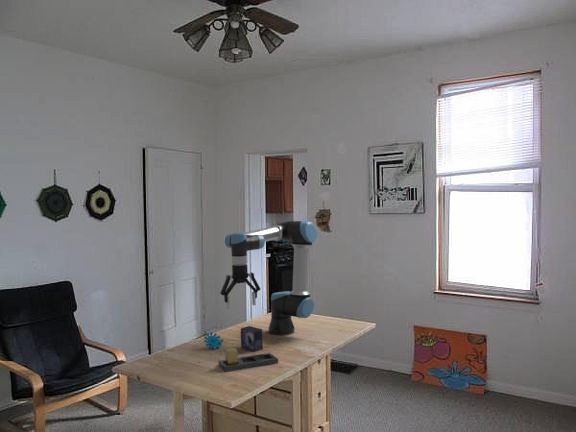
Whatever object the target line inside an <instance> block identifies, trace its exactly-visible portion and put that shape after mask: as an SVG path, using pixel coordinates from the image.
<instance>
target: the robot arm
mask: <svg viewBox="0 0 576 432" xmlns="http://www.w3.org/2000/svg"><path fill="white" fill-rule="evenodd" d="M317 236H318V231H317V228H316V226H315V224H314V223H312V222H311V221H308V220H307V221H306V220H302V221H301V220H288V221H283V222H279V223H275V224H272V225H271V226H270V227H269V226H268V227H265V228H264V227H263V228H260V229H255V230H249V231H244V232H234V233H229V234H227V235H226V236H225V238H224V243H225V246H226V248H229V249H230V250H231V270H232V271H231V272H232V273H231V274H232V275H229V274H226V276H225V281H224V283H223V285H222V288H221V290H220V291H219V295H221V296H224V300H223V301H224V303H226V305H225V306H226V309H227V310H230V309H231V305H230V302H231V301H230V295H229V294H230V293H231V292H232V290H233V289H234V287H235V286H236V285H237V284H243V283H245V284H246V285H247V286H248V287H249V288H250V289H251V290H252V291H251V301H252V302H251V304H252V306H256V305H257V304H256V303H257V302H256V299H258V291H261V287H260V285H259V283H258V281H257V280H256V278H255V273H254V272H252V271H251V272H248V270H249V269H248V252H249V251H255V250H257V251H258V250H261V249H262V248H263V247H264V246H265V244H266V242H270V241H275V242H279V241H286V242H287V241H288V242H291V246H292V247H293V266H292V267H293V270H292V272H293V273H292V290H291V291H289V290H288V291H278V292H273V293H272V294H271V297H270V311H271V313H270V314H271V319H270V322H269V326H268V333H269V334H270V335H276V336H284V335H285V336H287V335H291V334H293V333H295V325H294V322H293V320H292V317H293V318H294V317H296V318H298V319H308V318H309V317H310V316H311V315H312V313H313V312H314V309H315V302H314V298H311V293H310V292H309V290H308V289H309V265H310V264H309V263H310V248H311V247H312V246H313V243H314V242H315V241H316V239H317ZM263 249H264V248H263ZM248 278H250V280H251V281H252V283H251V282H250V281H249V279H248ZM230 280H232V281H231V283H230Z"/></svg>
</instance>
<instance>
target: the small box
mask: <svg viewBox="0 0 576 432" xmlns="http://www.w3.org/2000/svg"><path fill="white" fill-rule="evenodd" d="M263 344H264V343H263V329H262V328H259V327H254V326H251V325H248V326H245V327H240V348H241V349H244V350H248V351H251V352H258V351H260V350H263V349H264V346H263Z"/></svg>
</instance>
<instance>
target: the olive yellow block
mask: <svg viewBox="0 0 576 432" xmlns="http://www.w3.org/2000/svg"><path fill="white" fill-rule="evenodd" d="M224 358H225V359H224V360H225V364H226V365H227V366H228V365H234V364H238V358H239V357H238V349H237V348H235V347H231V348H224Z"/></svg>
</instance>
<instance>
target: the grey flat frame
mask: <svg viewBox="0 0 576 432" xmlns="http://www.w3.org/2000/svg"><path fill="white" fill-rule="evenodd" d="M237 358H238V364H234V365H228V366H227V365H226V364H225V359H223V360H222V359H221V360H218V366H219V367H220V368H221V369H222V370H223V371H224V372H226V373H227V372H233V371H239V370H244V369H250V368H255V367H262V366H263V367H264V366H268V365H274V363H275V364H278V363H279V358H278V357H276V356H275V355H274V354H272V353H271V352H267V353H266V352H265V353H261V354H255V355H247V356H242V357H237Z"/></svg>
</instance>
